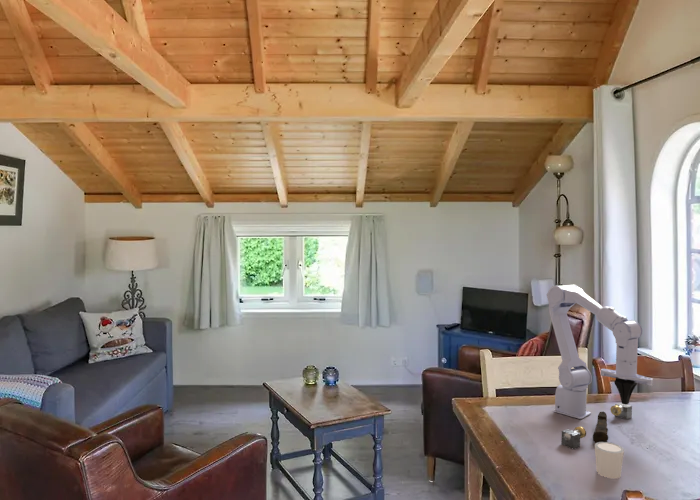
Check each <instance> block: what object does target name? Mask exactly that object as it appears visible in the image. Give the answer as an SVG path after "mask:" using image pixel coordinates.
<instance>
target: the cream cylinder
mask: <svg viewBox="0 0 700 500" xmlns="http://www.w3.org/2000/svg"><path fill="white" fill-rule="evenodd" d="M624 453H625V448H624V447H623V446H621V445H619V444H617V443H613V442H609V441H607V442H598V443H594V455H595V467H596V473H597V472H598V473H597V474H598V475H599V474H600V475H599V476H601V477H603V476H604V478H606V477H607V478H606V479H609V480H610V479H611V480H612V479H615V480H617V479H620V478H621V476H622V469H623V462H624V461H623V460H624Z"/></svg>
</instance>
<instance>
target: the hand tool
mask: <svg viewBox="0 0 700 500" xmlns="http://www.w3.org/2000/svg"><path fill="white" fill-rule="evenodd" d="M607 423H608V416H607V413H606V412H605V411H599V412H598V415H597V421H596V426H595V431H594V432H593V434H592V441H593V442H594V444H596V443H598V442H608V440H609V434H608V432H609V429H608V424H607Z"/></svg>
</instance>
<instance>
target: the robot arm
mask: <svg viewBox="0 0 700 500" xmlns="http://www.w3.org/2000/svg"><path fill="white" fill-rule="evenodd" d="M546 297H547V301H548V312H549V317H550V319H551V324H552V329H553V331H554V336H555V339H556V342H557V346H558V350H559V352H560V356H561V360H562V361H561V362H560V364H559V366H558V368H557V369H558V380H559V383H560V384H559V385H557V386H556V389H555V394H554V396H555V397H554V401H555V402H554V410H553V412H554V413H557V414H560V415H564V416H568V417H571V418H575V419H579V420H582V419H584V418H586V417H588V416H589V415H591V414H592V412H591V411H587V396H588V395H587V393H588V392H587V389H588V388H589V385H590V384H591V383H592V380H593V377H592V373H591V371H590V370H589V368H588V367H587V363H586V362H585V361H584V360H583V359H581V358H580V357H579V356H580V355H579V352H578V349H577V345H576V342H575V338H574V335H573V332H572V328H571V324H570V320H569V317H568V313H569V310H570V309H571V307H573V306H575V304H577V305H579V306H581V307H582V308H583V309H586V310H587V311H589V312H590V313H592V314H593V315H595V317H596V321H597V322H599V323H600V324H602V326H604V327H606V328H607V329H609V330H610V332H612V335H613V337H614V339H615V344H616V350H615V351H616V353H615V355H616V356H615V369H607V368H601V369H600V376H601V377H609V378H613V379H615V380H614V381H613V382H614V385H615V387H616V388H617V391H618V394H619V397H620V401H621V402H620V403H622V404H625V405H627V404H628V405H630V400H631V396H632V394H633V392H634V390H635V388H636V386H637V385H638V384H641V385H645V386H647V387H652V386H654V378H651V377H647V376H644V375H641V374H638V349H639V348H638V347H639V346H638V343H639V338H640V337H642V335H643V328H642V327H643V326H642V325H641V324H640V323H639V322H638V321H637V320H634V319H628V317H627V316H625V315H622V314H620V313H619V312H617V311H616V310H615V308H614V307H613V306H603V305H601V304H600V303H599V302H597V301H596V300H595V299H594V298H592V297H591V296H589V294H587V293H586V292H585V291H584V289H582V288H581V287H579V286H578V285H577V284H565V285H553V286H551V287H550V288H549V289H548V292H547V293H546Z"/></svg>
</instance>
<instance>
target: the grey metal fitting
mask: <svg viewBox="0 0 700 500" xmlns="http://www.w3.org/2000/svg"><path fill="white" fill-rule="evenodd" d="M586 436H587V431H586V429H585V427H583V426H577V427H575V428H574V430H572V429H569V428H566V429H563V430H561V445H562V446H565V447H567V448H569V447H570V449H572V448H573V449H572V450H576V449H578V447H579V448H580V447H581V439H584V438H585V437H586ZM575 448H576V449H575Z"/></svg>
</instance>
